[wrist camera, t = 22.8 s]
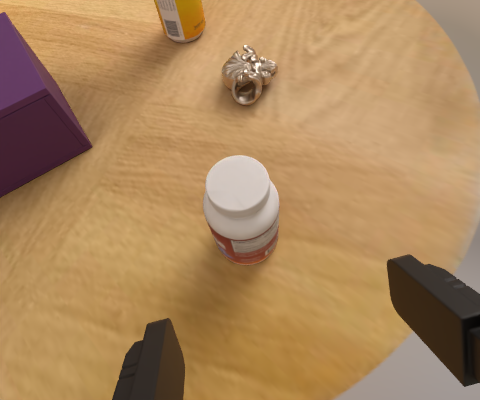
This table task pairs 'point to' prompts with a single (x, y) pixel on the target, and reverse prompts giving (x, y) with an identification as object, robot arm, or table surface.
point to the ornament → (247, 74)
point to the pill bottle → (242, 209)
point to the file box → (38, 135)
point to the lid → (16, 71)
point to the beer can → (181, 19)
